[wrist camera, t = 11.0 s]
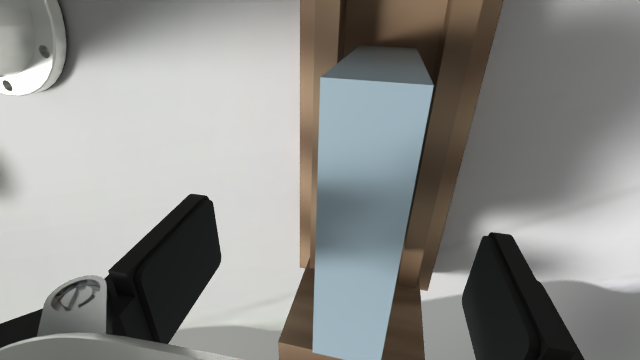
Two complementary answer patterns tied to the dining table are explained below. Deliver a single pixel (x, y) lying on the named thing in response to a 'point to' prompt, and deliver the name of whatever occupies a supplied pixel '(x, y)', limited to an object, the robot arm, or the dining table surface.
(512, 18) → the dining table surface
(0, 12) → the robot arm
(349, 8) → the base
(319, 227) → the door panel
